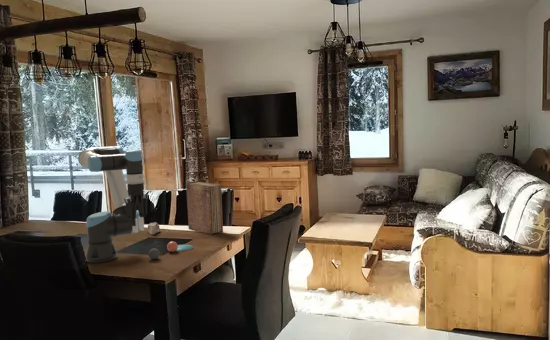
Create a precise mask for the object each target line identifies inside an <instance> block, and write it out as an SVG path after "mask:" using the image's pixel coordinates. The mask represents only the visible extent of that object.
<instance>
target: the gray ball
mask: <svg viewBox="0 0 550 340" xmlns="http://www.w3.org/2000/svg"><path fill="white" fill-rule="evenodd" d="M160 256H161V252H160V250H159V249H158V248H155V247H154V248H151V249H149V251H148V257H149V258H150V259H151V260H157V259H159V257H160Z"/></svg>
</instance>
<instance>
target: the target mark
mask: <svg viewBox="0 0 550 340" xmlns="http://www.w3.org/2000/svg"><path fill="white" fill-rule="evenodd" d="M177 245H178V248H177V250H176V251H174V252H175V253H176V252H187V251H190V250H192V249H193V248H194V246H193V245H191V244H177ZM174 252H173V253H174Z"/></svg>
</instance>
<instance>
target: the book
mask: <svg viewBox="0 0 550 340" xmlns="http://www.w3.org/2000/svg"><path fill="white" fill-rule="evenodd" d="M185 188H186V189H185V190H186V206H187V207H186V208H187V220H188V221H187V222H188V223H187V224H188V226H187V227H188V229H189V230H193V231H195V232H200V233H202V234H206V235H209V236H212V235H213V234H216V233H223V232H224V224H223V223H224V222H223V201H222V200H223V199H222V184H221V183H215V182H214V183H213V182H207V181H190V182H186V183H185Z"/></svg>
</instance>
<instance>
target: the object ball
mask: <svg viewBox="0 0 550 340" xmlns="http://www.w3.org/2000/svg"><path fill="white" fill-rule="evenodd" d="M178 245H179V244H178V243H177V242H176V241H173V240H172V241H169V242H168V243H167V244H166V248H167V250H168V251H169V252H171V253H174V251H176V250H177V248H178Z"/></svg>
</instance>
